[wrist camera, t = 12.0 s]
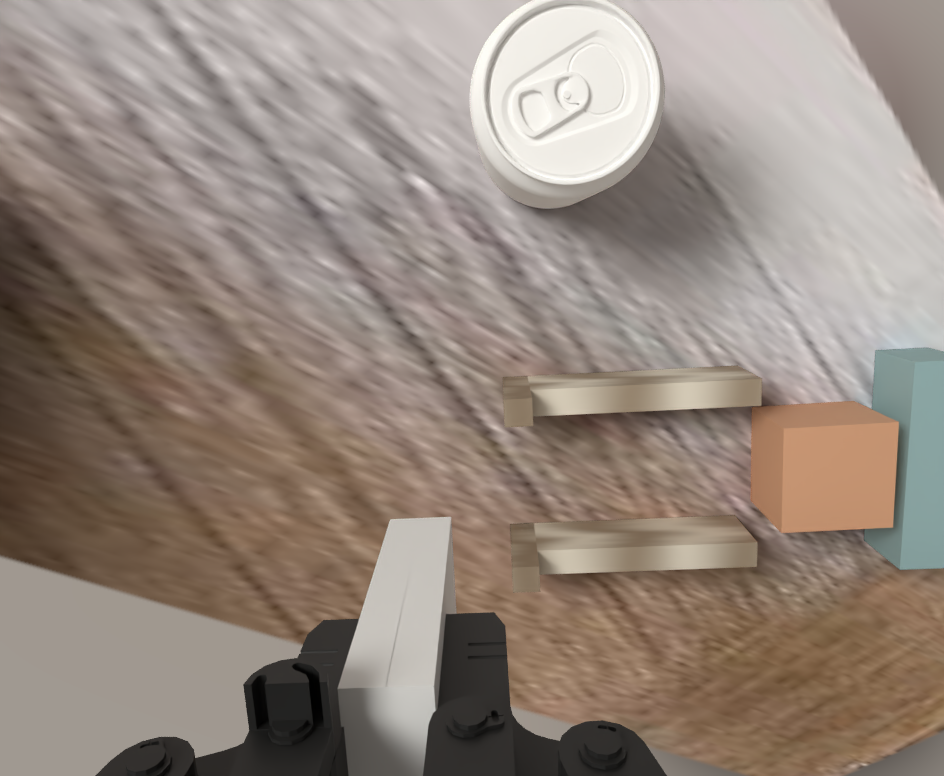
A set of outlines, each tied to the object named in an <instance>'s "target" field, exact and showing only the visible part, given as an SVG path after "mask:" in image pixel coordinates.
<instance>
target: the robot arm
mask: <svg viewBox="0 0 944 776" xmlns="http://www.w3.org/2000/svg"><path fill="white" fill-rule="evenodd" d="M244 693H245V700H246V708H247V715H248V723H249V733H248V735H247V737H246V739H245V741H244V743H243V744H240V745H239V746H237V747H233V748H230V749H228V750H225V751H221V752H217V753H214V754H210V755H206V756H202V757H198V758H195V755H194V749H193V748H192V747H191V745H190V744H189V743H188V741H185V740H183V739H180V738H177V737H158V738H154V739H150V740H146V741H142V742H140V743H138V744H136V745H134V746H132V747H130V748H128V749H125V750H124V751H123V752H122V753H120V754H119V755H117V756H116V757H115V758H114V759H112V760H111V761H110V762H109V763H108V764H107V765H106V766H105V767H104V768H103V769H102V770H101V771H100V772H99V773H98V774H97V775H96V776H667V775H666V774H665V773H664V771H663V769H662V768H661V766H660V765H659V764H658V762H657V760H656V759H655V757H654V756H653V754H652V753H651V752H650V750H649V748H648V747H647V746H646V744H645V743H644V741H643V740H642V739H641V738H640V737H639V736H638V735H637V734H636V733H635V732H634V731H632V730H630V729H628V728H626V727H624V726H622V725H620V724H616V723H611V722H606V721H588V722H584V723H581V724H578V725H576V726H573V727H571V728H570V729H569V730H568V731H567V732H566V733H565V734H563V735H562V737H561V740H560V741H557V740H552V739H548V738H545V737H541V736H538V735H535V734H533V733H531V732H530V731H528V730H526V729H525V728H523V727H522V726H521V725H520V724H519V723H518V722H517V721H516V719H515V718H514V716H513V715H512V711H511V707H510V695H509V679H508V663H507V648H506V632H505V625H504V624H503V623H502V622H501V620H500V619H499V618H498V617H497V615H496V614H495V613H465V614H456V597H455V579H454V561H453V542H452V524H451V517H437V518H410V519H390V522H389V525H388V528H387V532H386V535H385V538H384V541H383V544H382V548H381V551H380V554H379V557H378V560H377V564H376V567H375V570H374V573H373V576H372V580H371V583H370V586H369V589H368V592H367V596H366V599H365V602H364V605H363V608H362V612H361V615H360V618H359V619H345V620H323V621H322V622H321V623H320V624H319V625H318V626H317V627H316V628H314V629H313V630H312V631H311V632H310V633H309V634H308V635H307V637H306V640H305V642H304V644H303V647H302V649H301V654H299V656H298V658H294V659H287V660H281V661H278V662H275V663H272V664H269V665H267V666H264V667H263V668H261V669H260V670H258V671H257V672H255V673H253V674H252V675H251V676H250V677H249V679H248V680H247V681H246V682H245V684H244Z"/></svg>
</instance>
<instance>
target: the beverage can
mask: <svg viewBox="0 0 944 776" xmlns="http://www.w3.org/2000/svg"><path fill="white" fill-rule="evenodd" d="M664 98H665V86H664V76H663V70H662V66H661V62H660V59H659V56H658V53H657V51H656V48H655V46H654V44H653V42H652V40H651V39H650V37H649V35H648V34H647V32H646V31H645V30H644V28H643V27H642V26H641V25H640V24H639V22H638V21H637V20H636V19H635V18H634V17H633V16H631V15H630V14H629V13H628V12H627V11H625V10H624V9H623V8H621V7H620V6H618V5H616V4H614V3H613V2H611V1H608V0H533V1H531V2H529V3H527V4H525V5H523V6H521V7H520V8H518V9H517V10H515V11H514V12H513V13H511V14H510V15H509V16H508V17H506V18H505V19H504V20H503V21H502V22H501V23H500V24H499V25H498V26H497V28H496V29H495V30H494V31H493V33H492V34H491V35H490V37H489V38H488V40H487V41H486V43H485V45H484V46H483V48H482V50H481V52H480V54H479V57H478V59H477V62H476V65H475V68H474V71H473V75H472V80H471V87H470V113H471V120H472V125H473V129H474V133H475V137H476V141H477V146H478V150H479V154H480V157H481V160H482V163H483V165H484V168H485V170H486V171H487V173H488V175H489V176H490V178H491V179H492V181H493V182H494V183H495V184H496V186H497V187H498V188H499V189H500V190H501V191H503V192H504V193H505V194H506V195H508V196H509V197H511V198H512V199H514V200H516V201H518V202H520V203H522V204H525V205H528V206H531V207H536V208H544V209H553V208H561V207H565V206H569V205H572V204H575V203H577V202H580V201H582V200H584V199H586V198H588V197H590V196H593V195H595V194H597V193H599V192H601V191H604V190H606V189H608V188H609V187H611V186H613V185H614V184H616V183H617V182H619V181H620V180H622V179H623V178H624V177H625V176H627V175H628V174H629V173H630V172H631V171H632V170H633V169H634V168H635V167H636V166H637V165H638V164H639V162H640V161H641V160H642V159H643V157H644V156H645V154H646V153H647V151H648V150H649V148H650V146H651V145H652V143H653V141H654V138H655V136H656V134H657V131H658V128H659V125H660V122H661V118H662V114H663V108H664Z"/></svg>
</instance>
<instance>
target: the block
mask: <svg viewBox="0 0 944 776" xmlns="http://www.w3.org/2000/svg"><path fill="white" fill-rule="evenodd" d="M898 431H899V422H898V421H896V420H894V419H891V418H889V417H887V416H885V415H883V414H881V413H878V412H876V411H874V410H872V409H870V408H868V407H866V406H863V405H861V404H859V403H857V402H855V401H845V402H828V403H811V404H794V405H777V406H760V407H752V436H751V501H752V502H753V504H754V505H755V506H756V507H757V508H758V509H759V510H760V511H761V512H762V513H763V514H764V515H765V516H766V517H767V518H768V519H769V520H770V521H771V522H772V524H773V525H774V526H775V527H776V528H777V529H778V530H779V531H780V532H781V533H792V532H812V531H832V530H852V529H873V528H893V518H894V500H895V483H896V465H897V448H898Z"/></svg>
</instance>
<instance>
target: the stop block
mask: <svg viewBox="0 0 944 776" xmlns="http://www.w3.org/2000/svg"><path fill="white" fill-rule="evenodd" d="M872 410H874V411H876V412H878V413H881V414H883V415H885V416H887V417H889V418H891V419H894V420H896V421H898V422H899V431H898V448H897V465H896V483H895V500H894V518H893V528H873V529H865V533H864V540H865V541H866V542H867V543H868V544H869V545H871V546H872V547H873V548H874V549H875V550H877V551H878V552H879V553H880V554H881V555H883V556H884V557H885V558H886V559H887V560H889V561H890V562H891V563H892V564H894V565H895V566H896V567H897V568H898V569H900V570H906V569H934V568H944V352H943V351H939V350H935V349H931V348H912V349H892V350H876V352H875V368H874V385H873V401H872Z"/></svg>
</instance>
